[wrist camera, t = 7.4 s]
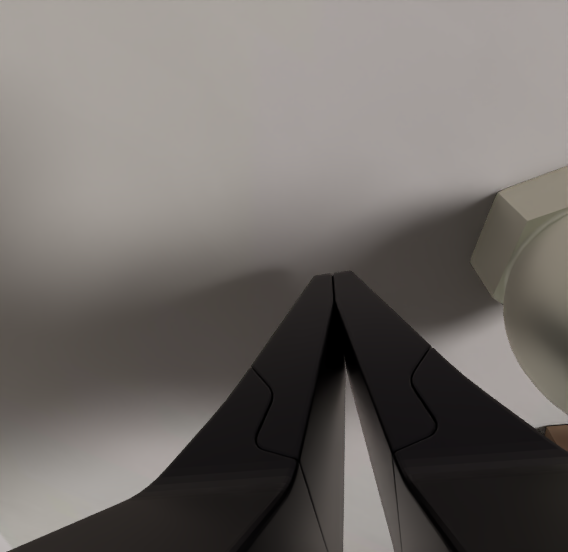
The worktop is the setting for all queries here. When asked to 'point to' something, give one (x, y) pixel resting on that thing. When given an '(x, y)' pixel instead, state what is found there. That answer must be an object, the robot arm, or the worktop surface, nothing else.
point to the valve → (531, 276)
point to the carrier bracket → (558, 435)
